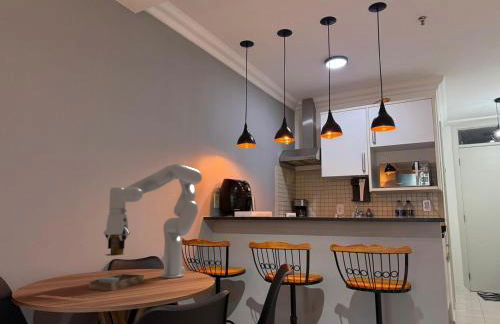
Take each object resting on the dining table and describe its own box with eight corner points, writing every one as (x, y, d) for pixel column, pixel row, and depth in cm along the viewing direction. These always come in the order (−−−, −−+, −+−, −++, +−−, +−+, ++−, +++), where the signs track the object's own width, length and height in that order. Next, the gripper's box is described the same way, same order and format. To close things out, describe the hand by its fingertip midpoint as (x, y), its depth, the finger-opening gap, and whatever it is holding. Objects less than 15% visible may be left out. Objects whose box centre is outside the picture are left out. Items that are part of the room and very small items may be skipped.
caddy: (121, 282, 180) (121, 273, 181) (143, 283, 176) (143, 275, 177) (88, 290, 160) (89, 281, 160) (112, 292, 155) (113, 283, 156)
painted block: (104, 285, 165) (104, 277, 166) (118, 287, 163) (119, 277, 163) (98, 287, 162) (98, 278, 162) (112, 288, 159) (113, 279, 160)
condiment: (127, 254, 179) (127, 229, 181) (114, 256, 172) (115, 230, 173) (116, 253, 182) (117, 229, 184) (103, 255, 175) (104, 230, 177)
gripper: (136, 211, 180) (135, 248, 178) (109, 212, 187) (107, 247, 184) (126, 211, 173) (124, 249, 171) (98, 212, 180) (96, 249, 177)
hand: (116, 248), depth 178 cm, fingers closed on condiment, 6 cm apart
